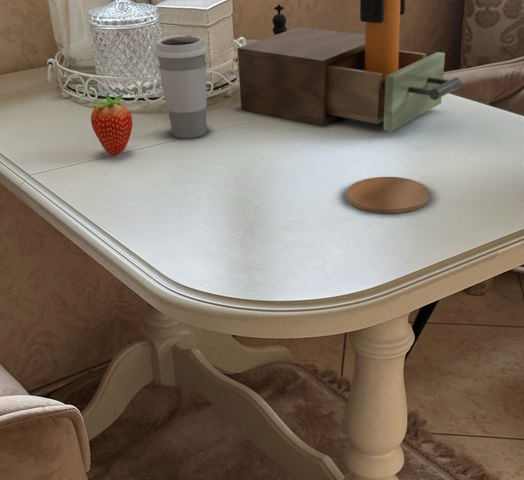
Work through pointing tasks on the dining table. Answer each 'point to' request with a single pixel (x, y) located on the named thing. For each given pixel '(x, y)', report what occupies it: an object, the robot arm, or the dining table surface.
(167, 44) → the cup
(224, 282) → the dining table surface
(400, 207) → the coaster
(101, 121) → the fruit
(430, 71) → the drawer
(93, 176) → the dining table surface
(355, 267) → the dining table surface
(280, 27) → the chess piece
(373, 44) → the pill bottle
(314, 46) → the cabinet
